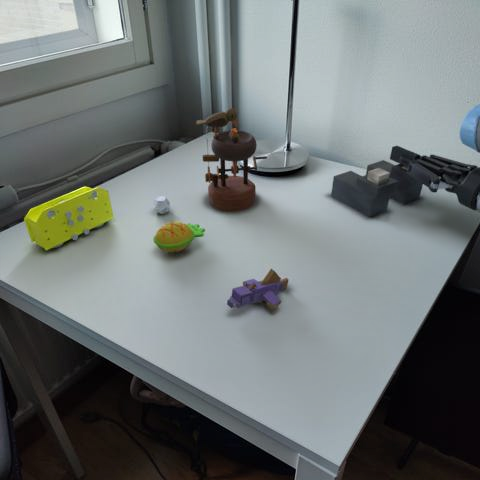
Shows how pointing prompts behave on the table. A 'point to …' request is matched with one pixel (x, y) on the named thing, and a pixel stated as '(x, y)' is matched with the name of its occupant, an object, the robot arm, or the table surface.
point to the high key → (378, 176)
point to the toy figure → (258, 291)
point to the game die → (161, 205)
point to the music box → (232, 149)
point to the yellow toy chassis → (68, 216)
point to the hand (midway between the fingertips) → (393, 152)
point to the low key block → (400, 181)
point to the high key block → (363, 192)
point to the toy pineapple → (177, 236)
